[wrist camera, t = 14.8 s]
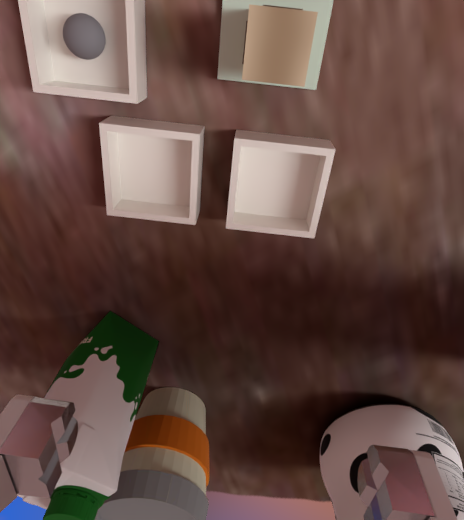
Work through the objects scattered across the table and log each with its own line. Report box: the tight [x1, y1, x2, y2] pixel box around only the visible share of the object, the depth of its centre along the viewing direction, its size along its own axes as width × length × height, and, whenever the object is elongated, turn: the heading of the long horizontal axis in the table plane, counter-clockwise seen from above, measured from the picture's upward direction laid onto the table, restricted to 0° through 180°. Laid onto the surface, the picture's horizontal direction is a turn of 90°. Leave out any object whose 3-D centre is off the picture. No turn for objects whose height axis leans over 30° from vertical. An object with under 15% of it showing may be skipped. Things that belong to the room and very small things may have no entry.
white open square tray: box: [226, 130, 335, 238], centre depth 34 cm, size 8×8×3 cm
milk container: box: [320, 403, 464, 520], centre depth 46 cm, size 17×17×18 cm
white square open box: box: [18, 0, 147, 104], centre depth 29 cm, size 8×8×3 cm
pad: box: [217, 0, 333, 90], centre depth 29 cm, size 8×6×1 cm
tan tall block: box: [242, 4, 318, 87], centre depth 26 cm, size 4×4×7 cm
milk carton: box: [17, 311, 159, 520], centre depth 39 cm, size 9×9×20 cm
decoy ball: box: [63, 13, 106, 60], centre depth 28 cm, size 3×3×3 cm
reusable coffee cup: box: [95, 387, 209, 520], centre depth 47 cm, size 12×13×15 cm
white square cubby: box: [99, 116, 204, 225], centre depth 34 cm, size 8×8×3 cm
